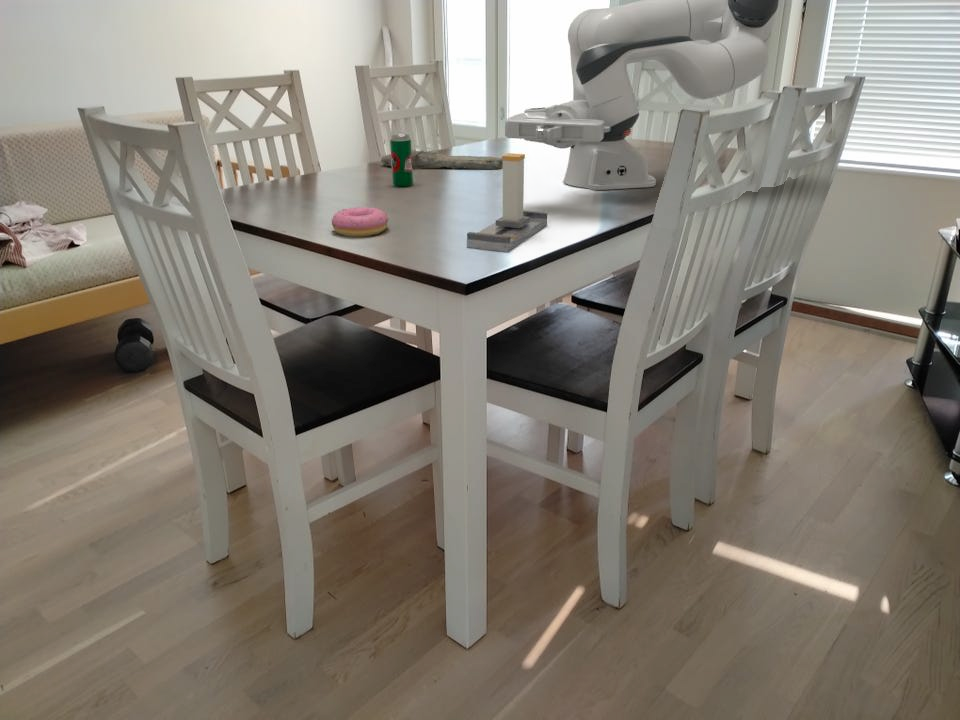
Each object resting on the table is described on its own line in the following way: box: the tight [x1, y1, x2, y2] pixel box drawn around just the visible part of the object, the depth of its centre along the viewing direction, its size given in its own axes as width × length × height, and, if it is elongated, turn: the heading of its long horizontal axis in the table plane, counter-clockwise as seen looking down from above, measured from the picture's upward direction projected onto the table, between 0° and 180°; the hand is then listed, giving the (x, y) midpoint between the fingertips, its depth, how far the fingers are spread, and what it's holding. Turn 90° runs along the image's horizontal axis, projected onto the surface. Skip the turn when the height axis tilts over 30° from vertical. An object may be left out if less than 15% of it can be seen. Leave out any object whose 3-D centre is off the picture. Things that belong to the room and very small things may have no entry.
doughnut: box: [331, 206, 389, 238], centre depth 142 cm, size 11×11×4 cm
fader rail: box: [466, 209, 548, 253], centre depth 138 cm, size 20×8×2 cm, turn 155°
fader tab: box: [495, 152, 530, 228], centre depth 137 cm, size 5×5×13 cm
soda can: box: [389, 133, 414, 188], centre depth 179 cm, size 5×5×12 cm
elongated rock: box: [380, 149, 503, 171], centre depth 203 cm, size 35×5×10 cm
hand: (542, 134), depth 142 cm, fingers closed
